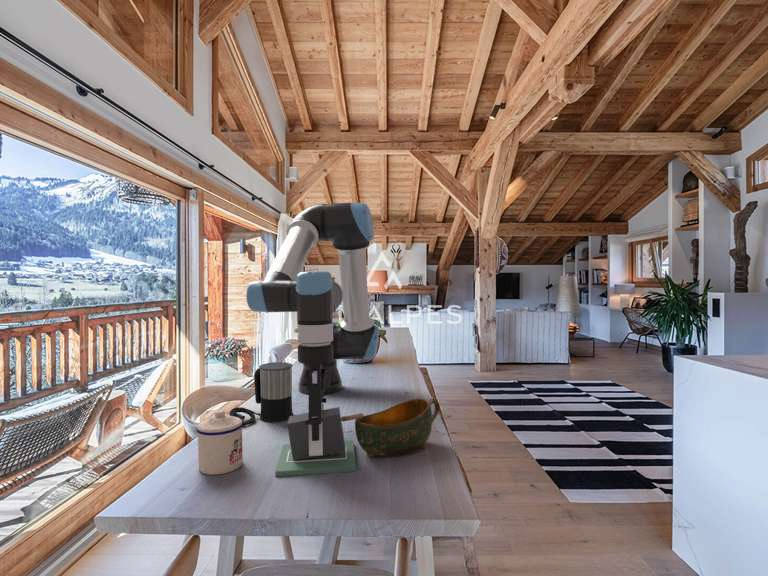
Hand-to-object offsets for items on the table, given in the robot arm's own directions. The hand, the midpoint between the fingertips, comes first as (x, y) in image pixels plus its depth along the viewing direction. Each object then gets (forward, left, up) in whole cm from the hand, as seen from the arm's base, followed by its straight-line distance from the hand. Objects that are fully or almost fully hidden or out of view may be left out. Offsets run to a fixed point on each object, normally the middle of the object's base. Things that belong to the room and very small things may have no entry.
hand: (317, 443), depth 94 cm
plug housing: (0, +3, -1) cm, 3 cm away
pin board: (0, 0, -4) cm, 4 cm away
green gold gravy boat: (-3, +18, -4) cm, 19 cm away
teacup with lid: (-1, -20, -4) cm, 20 cm away
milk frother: (-29, -16, -4) cm, 33 cm away
